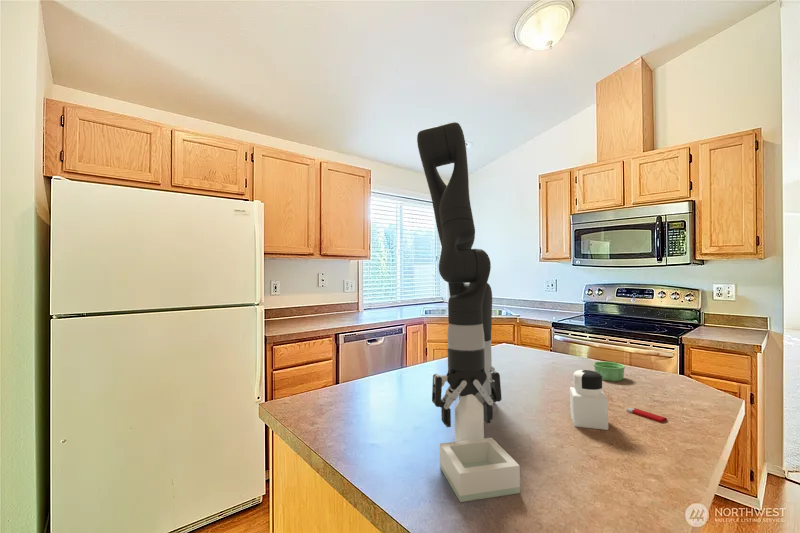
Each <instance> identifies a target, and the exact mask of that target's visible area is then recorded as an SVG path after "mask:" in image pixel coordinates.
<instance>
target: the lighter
mask: <svg viewBox="0 0 800 533" xmlns="http://www.w3.org/2000/svg"><path fill="white" fill-rule="evenodd" d="M626 412H627V413H629V414H631V415H636V416H639V417H641V418H645V419H647V420H650V421H654V422H657V423H660V424H662V423H664V422H666V421H668V418H667V417H665V416H661V415H659V414H655V413H652V412H648V411H646V410H643V409H639V408H636V407H633V408H632V407H628V408H626Z"/></svg>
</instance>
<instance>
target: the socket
mask: <svg viewBox="0 0 800 533" xmlns="http://www.w3.org/2000/svg"><path fill="white" fill-rule="evenodd" d="M439 468H440V470H441V471H442V473H443V475H444V477H445V479H446V481H447V482H448V484H449V485H450V487H451V489H452V490H453V492H454V494H455V495H456V497H457V499H458V500H459V502H460V503H463V502H471V501H477V500H483V499H491V498H497V497H503V496H509V495H510V496H511V495H515V494H516V495H518V494H521V476H520V475H521V474H520V473H521V472H520V469H521V466H520V464H518V462H517V461H516V460H515V459H514V458H513V457H512V456H511V455H510V454H508V453H507V451H506V450H505V449H504V448H502V447H501V446H500V444H498V442H497V441H496V440H494V438H493V437H484V438H483V439H475V440H466V441H458V442H455V441H451V442H442V443H439Z"/></svg>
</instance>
